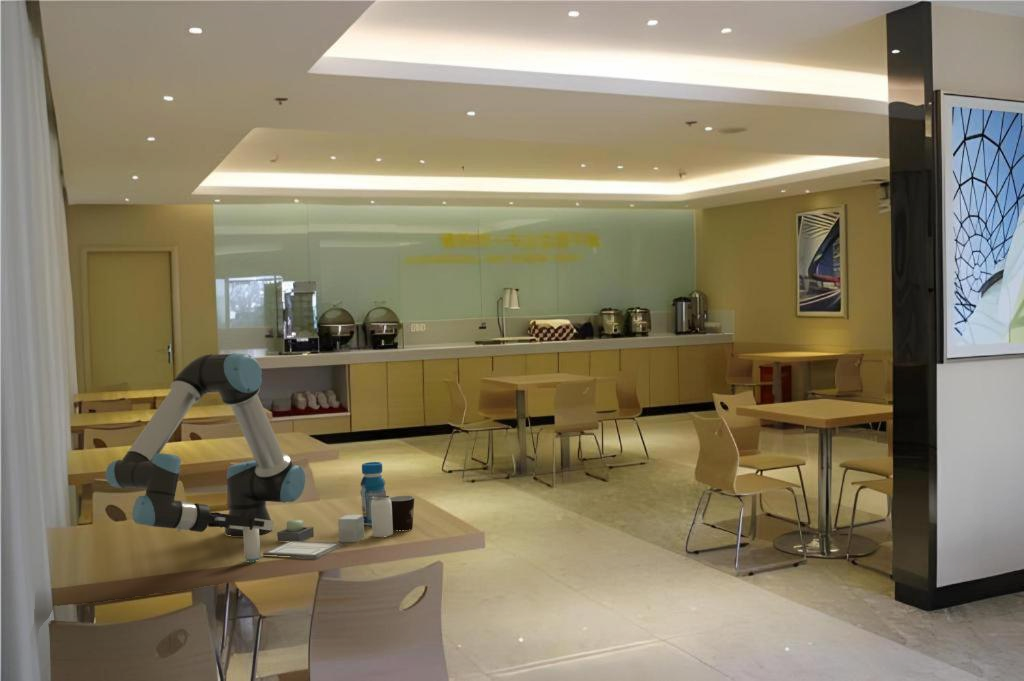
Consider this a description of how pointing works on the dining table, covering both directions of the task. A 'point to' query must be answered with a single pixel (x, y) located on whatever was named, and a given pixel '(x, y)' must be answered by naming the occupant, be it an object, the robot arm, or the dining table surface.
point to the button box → (295, 534)
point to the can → (381, 516)
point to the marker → (251, 544)
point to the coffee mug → (402, 512)
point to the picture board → (303, 549)
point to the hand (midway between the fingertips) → (261, 525)
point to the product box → (351, 528)
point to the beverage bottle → (371, 487)
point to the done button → (295, 526)
